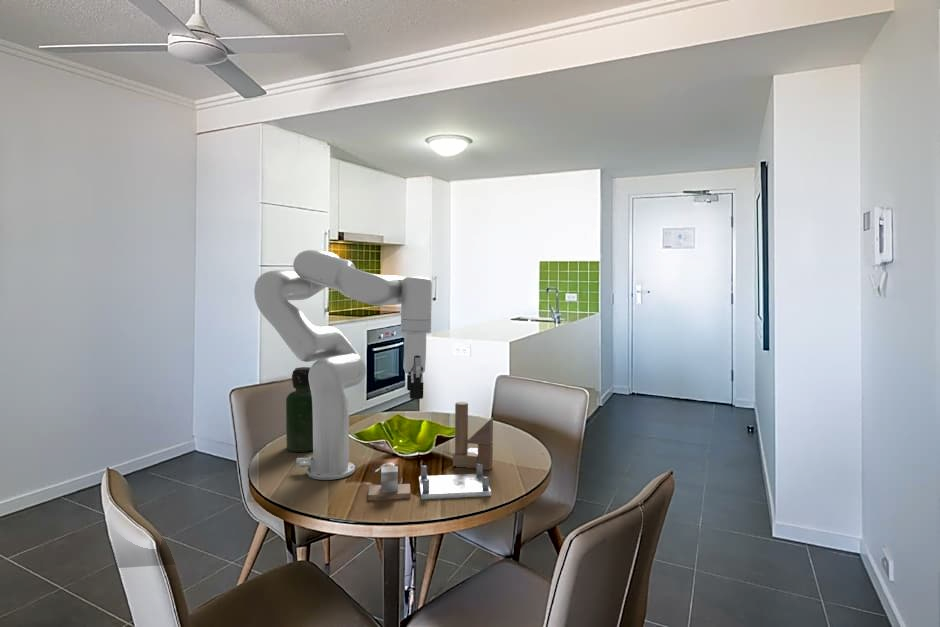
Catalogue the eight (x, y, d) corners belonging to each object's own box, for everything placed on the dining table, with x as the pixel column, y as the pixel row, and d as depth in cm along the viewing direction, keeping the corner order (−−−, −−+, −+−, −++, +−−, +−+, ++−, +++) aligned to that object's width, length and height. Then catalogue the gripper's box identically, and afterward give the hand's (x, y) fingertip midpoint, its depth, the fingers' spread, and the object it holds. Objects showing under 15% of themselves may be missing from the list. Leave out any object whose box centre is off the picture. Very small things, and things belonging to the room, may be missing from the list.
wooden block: (489, 470, 146) (490, 406, 145) (452, 467, 149) (453, 404, 148) (492, 466, 150) (493, 403, 149) (456, 462, 153) (456, 401, 152)
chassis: (421, 499, 126) (421, 482, 126) (419, 480, 138) (419, 464, 138) (491, 495, 129) (491, 479, 129) (483, 477, 141) (483, 462, 140)
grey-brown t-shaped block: (368, 501, 126) (368, 474, 125) (369, 491, 132) (369, 465, 131) (410, 499, 127) (410, 472, 127) (409, 489, 133) (409, 464, 133)
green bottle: (321, 441, 172) (321, 365, 170) (321, 451, 162) (320, 370, 160) (288, 444, 169) (287, 366, 168) (285, 454, 159) (284, 371, 158)
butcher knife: (461, 467, 150) (461, 463, 150) (464, 451, 165) (464, 447, 165) (479, 467, 150) (479, 463, 150) (481, 451, 165) (481, 447, 165)
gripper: (399, 323, 139) (398, 387, 141) (402, 329, 122) (401, 402, 124) (427, 323, 141) (426, 387, 142) (435, 329, 124) (433, 401, 125)
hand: (414, 394), depth 133 cm, fingers open, 9 cm apart
